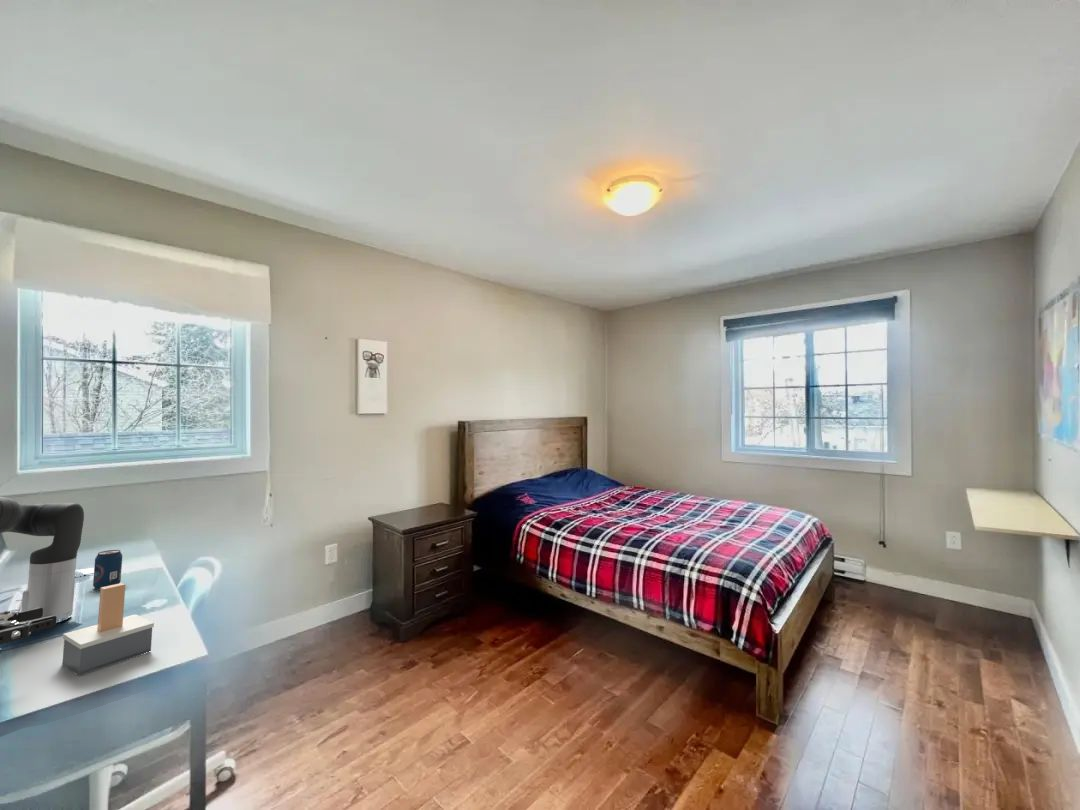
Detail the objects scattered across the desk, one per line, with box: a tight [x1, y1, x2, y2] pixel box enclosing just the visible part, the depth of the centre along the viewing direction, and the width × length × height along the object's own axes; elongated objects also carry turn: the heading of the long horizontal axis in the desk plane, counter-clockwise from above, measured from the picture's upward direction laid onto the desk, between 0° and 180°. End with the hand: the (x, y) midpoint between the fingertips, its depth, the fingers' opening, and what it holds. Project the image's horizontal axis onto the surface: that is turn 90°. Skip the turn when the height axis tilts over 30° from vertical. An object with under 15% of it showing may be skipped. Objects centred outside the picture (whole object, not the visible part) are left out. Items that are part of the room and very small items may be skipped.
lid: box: [62, 582, 155, 649], centre depth 110 cm, size 13×10×12 cm
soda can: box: [92, 549, 123, 591], centre depth 157 cm, size 7×7×12 cm
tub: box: [62, 627, 153, 677], centre depth 109 cm, size 13×10×6 cm
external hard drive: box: [75, 567, 94, 576], centre depth 170 cm, size 2×8×12 cm
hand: (48, 616), depth 100 cm, fingers open, 8 cm apart
